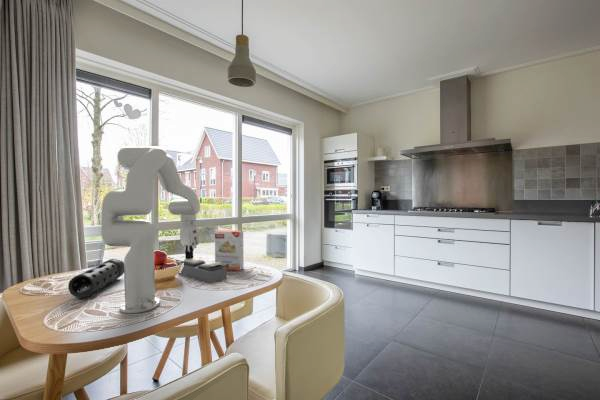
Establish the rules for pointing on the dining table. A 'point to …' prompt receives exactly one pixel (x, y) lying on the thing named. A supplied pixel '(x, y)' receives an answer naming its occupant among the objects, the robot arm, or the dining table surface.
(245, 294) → the dining table surface
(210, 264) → the near rocker
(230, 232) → the cracker box
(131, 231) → the robot arm
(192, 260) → the far rocker
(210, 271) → the switch box
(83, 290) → the muzzle brake
